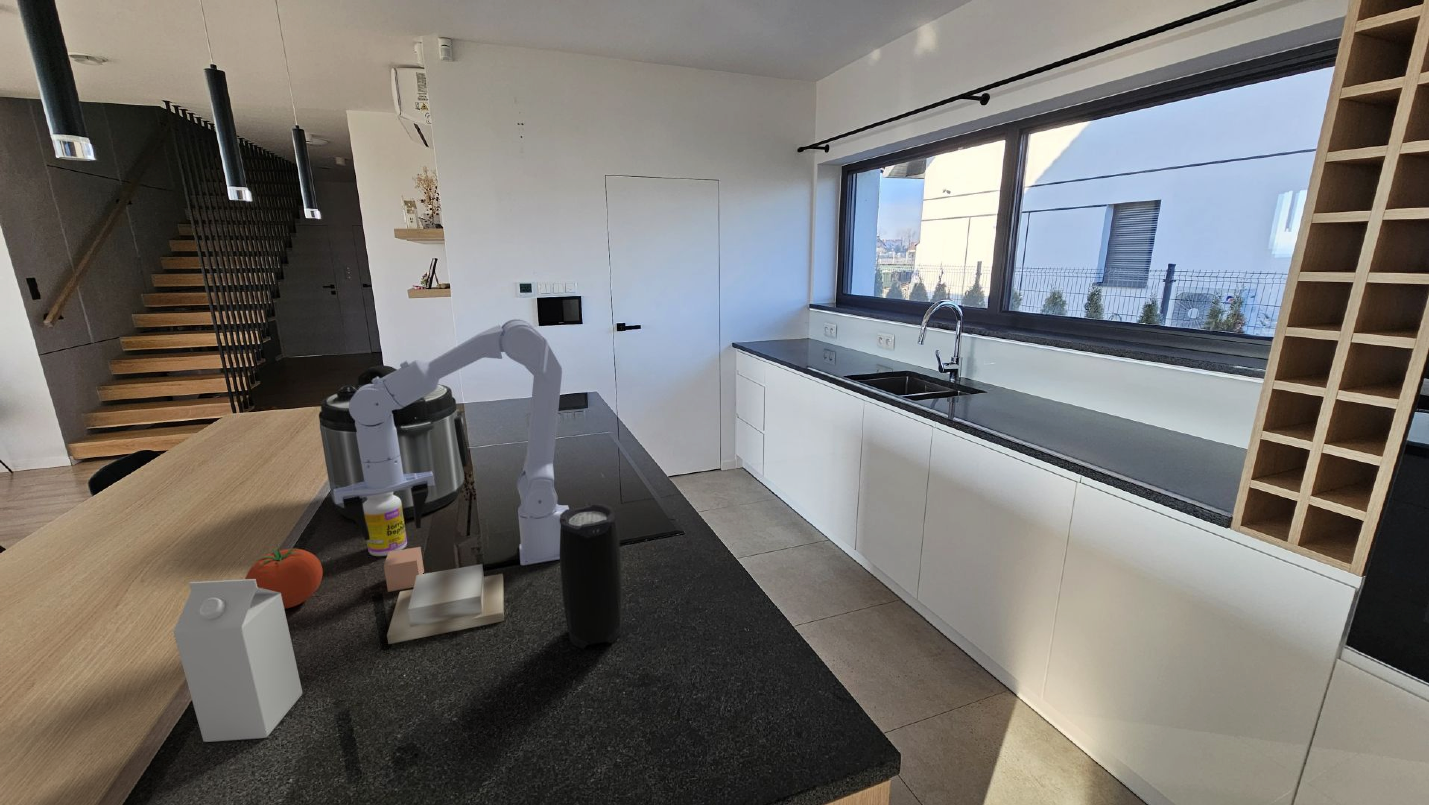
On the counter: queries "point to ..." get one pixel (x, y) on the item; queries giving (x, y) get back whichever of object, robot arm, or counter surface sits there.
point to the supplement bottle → (384, 524)
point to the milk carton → (237, 659)
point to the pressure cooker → (423, 440)
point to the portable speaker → (591, 574)
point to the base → (448, 625)
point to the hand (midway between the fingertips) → (393, 531)
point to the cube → (403, 568)
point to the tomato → (288, 574)
